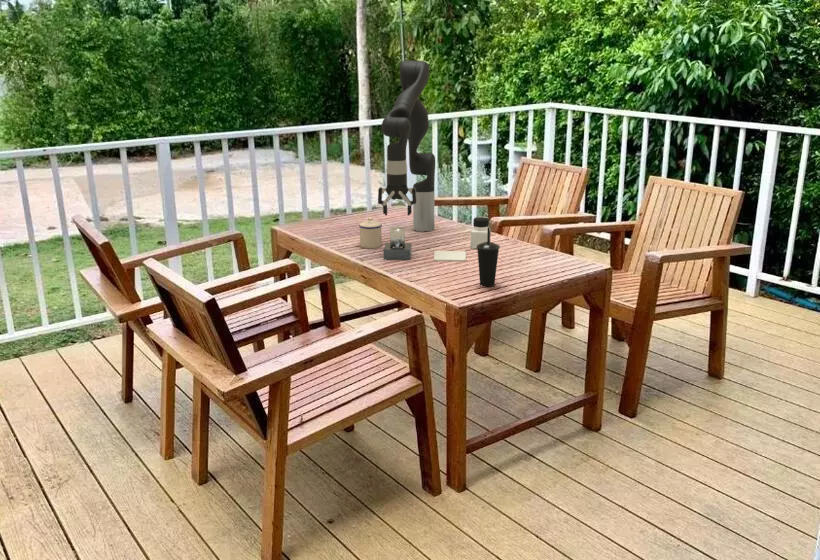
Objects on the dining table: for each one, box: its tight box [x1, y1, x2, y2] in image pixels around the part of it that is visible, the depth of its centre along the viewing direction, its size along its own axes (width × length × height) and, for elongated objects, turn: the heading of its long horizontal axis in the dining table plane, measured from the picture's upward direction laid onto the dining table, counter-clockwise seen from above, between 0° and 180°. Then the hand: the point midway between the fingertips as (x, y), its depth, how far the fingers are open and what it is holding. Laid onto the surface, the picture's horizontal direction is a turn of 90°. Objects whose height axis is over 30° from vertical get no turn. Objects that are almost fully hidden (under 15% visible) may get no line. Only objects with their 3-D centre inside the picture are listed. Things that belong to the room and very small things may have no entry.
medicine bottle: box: [470, 216, 492, 250], centre depth 294 cm, size 7×7×12 cm
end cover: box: [389, 226, 406, 248], centre depth 282 cm, size 6×6×11 cm
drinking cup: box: [476, 226, 501, 287], centre depth 246 cm, size 8×8×20 cm
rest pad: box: [433, 250, 467, 262], centre depth 282 cm, size 12×12×1 cm
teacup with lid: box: [358, 216, 383, 249], centre depth 298 cm, size 12×9×12 cm
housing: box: [382, 242, 413, 261], centre depth 283 cm, size 10×10×4 cm
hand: (397, 215), depth 278 cm, fingers open, 8 cm apart
